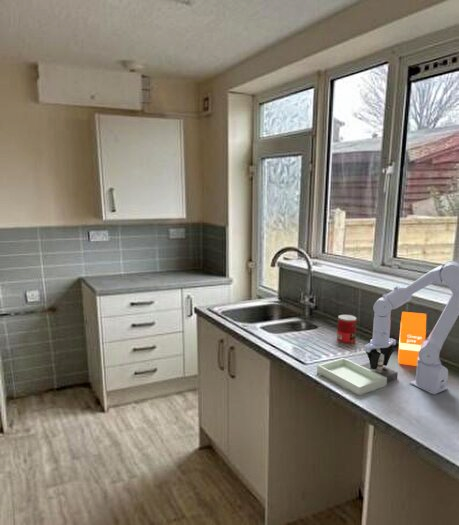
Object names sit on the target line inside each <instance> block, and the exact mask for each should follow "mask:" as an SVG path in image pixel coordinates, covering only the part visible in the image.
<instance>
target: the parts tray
mask: <svg viewBox="0 0 459 525" xmlns="http://www.w3.org/2000/svg"><path fill="white" fill-rule="evenodd" d="M361 365H362V364H361ZM361 365H360V364H359V363H356V362H354V361H353V360H350V359H347V358H346V357H341V358H337V359H335V360H331V361H327V362H324V363H320V364H317V365H316V369H317V370H316V373H317V374H319V375H320V376H322V377H324V378H325V379H328V380H329V381H332V382H333V383H335V384H337V385H339V386H340V387H342V388H344V389H346V390H348V391H349V392H351V393H353V394H355V395H357V396H358V397H359V396H362V395H364V394H367V393H368V394H369V393H371V392H373V391H376V390H378V389H382V388H384V387H387V383H388V382H387V378H386V377H384V376H382V375H380V374H378V373H376V372H374V371H371V370H369V369H367V368H365V367H363V366H361Z"/></svg>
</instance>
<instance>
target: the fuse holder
mask: <svg viewBox="0 0 459 525" xmlns="http://www.w3.org/2000/svg"><path fill="white" fill-rule="evenodd" d="M361 366H363V367H365V368H367V369H369V370H371V371H374V372H376V373H378V374H380V375H382V376H384V377H386V378H387V383H391V382H393V381H395V380H398V371H395V370H393V369H391V368H389V367H387V366H384V365H383V372H380V373H379V372H377V371H375V370H374V369H373V368H371V366H370V362H367V363H364V364H361Z"/></svg>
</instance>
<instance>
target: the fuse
mask: <svg viewBox="0 0 459 525" xmlns="http://www.w3.org/2000/svg"><path fill="white" fill-rule="evenodd" d="M383 361H384V354H381V355H380V357H379V359H378V365H377V369H374V370H375V371H377V372H379V373H380V372H383V366H384V365H383Z"/></svg>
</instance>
